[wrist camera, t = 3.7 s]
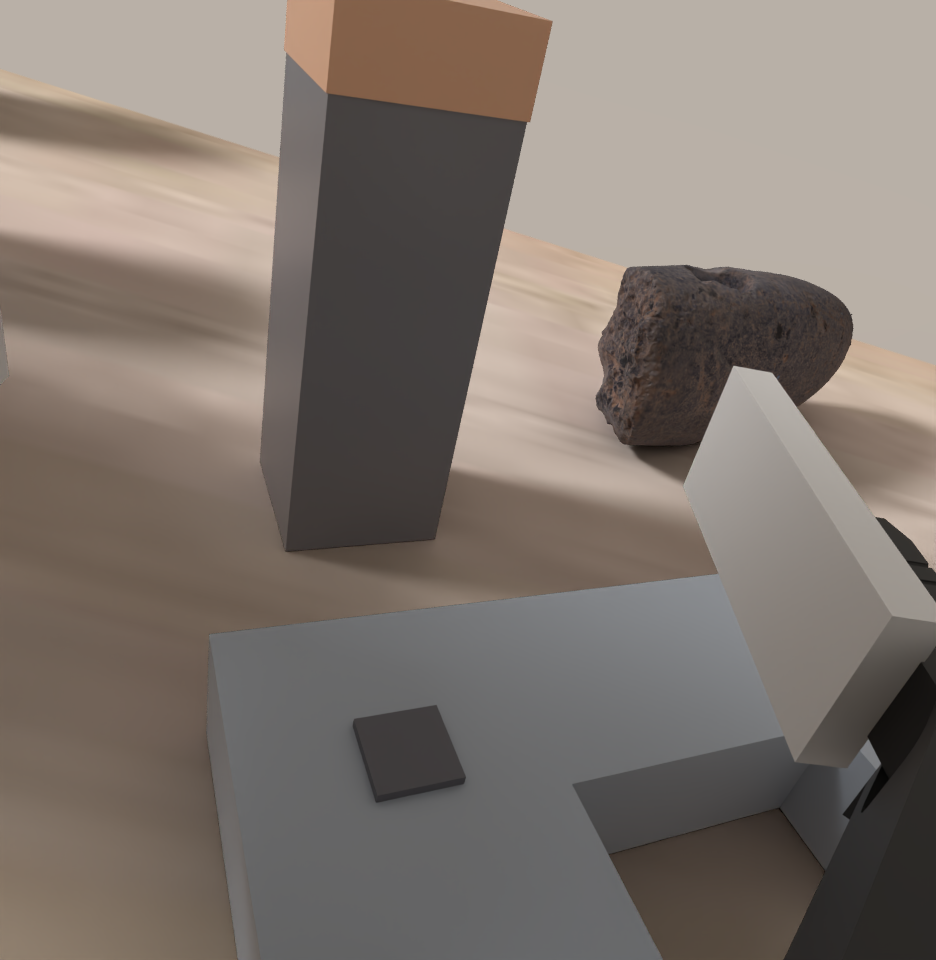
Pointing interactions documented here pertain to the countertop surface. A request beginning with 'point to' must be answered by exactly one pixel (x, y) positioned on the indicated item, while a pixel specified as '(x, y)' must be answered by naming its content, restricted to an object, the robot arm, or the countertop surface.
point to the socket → (490, 771)
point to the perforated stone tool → (710, 345)
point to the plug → (386, 252)
